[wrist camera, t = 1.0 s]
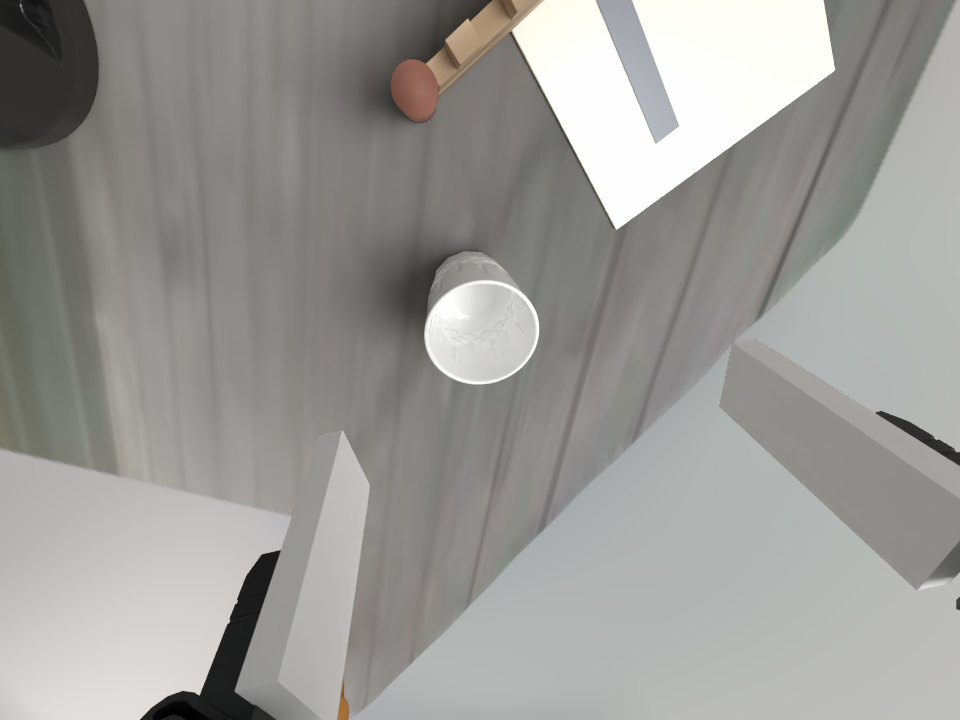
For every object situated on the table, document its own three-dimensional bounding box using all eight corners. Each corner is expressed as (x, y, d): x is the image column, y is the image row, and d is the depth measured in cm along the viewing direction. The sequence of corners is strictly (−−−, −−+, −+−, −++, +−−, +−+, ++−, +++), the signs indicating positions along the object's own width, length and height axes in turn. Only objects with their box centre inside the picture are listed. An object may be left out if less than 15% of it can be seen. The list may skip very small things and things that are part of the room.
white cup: (467, 223, 32) (481, 254, 23) (529, 284, 35) (562, 331, 27) (407, 291, 34) (399, 342, 26) (471, 342, 38) (483, 402, 29)
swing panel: (393, 98, 27) (380, 82, 19) (556, -57, 24) (613, -146, 16) (417, 130, 28) (412, 127, 20) (574, -14, 25) (636, -79, 17)
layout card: (479, -29, 24) (480, -31, 24) (766, -312, 20) (772, -319, 20) (615, 228, 34) (617, 229, 33) (831, 70, 29) (836, 70, 29)
